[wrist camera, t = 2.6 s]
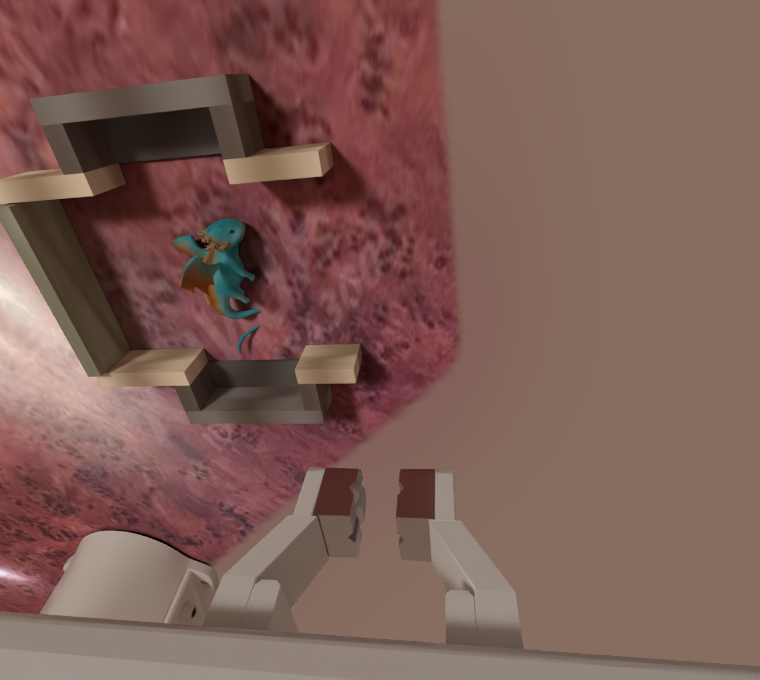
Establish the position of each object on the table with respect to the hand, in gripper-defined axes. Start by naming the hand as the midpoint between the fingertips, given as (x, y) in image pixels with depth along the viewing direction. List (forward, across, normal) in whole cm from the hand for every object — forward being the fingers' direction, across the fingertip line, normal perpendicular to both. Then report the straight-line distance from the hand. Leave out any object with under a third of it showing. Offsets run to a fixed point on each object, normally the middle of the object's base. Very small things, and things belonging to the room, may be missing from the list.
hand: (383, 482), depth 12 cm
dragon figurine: (+18, -12, 0) cm, 22 cm away
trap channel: (+17, -14, 0) cm, 22 cm away
